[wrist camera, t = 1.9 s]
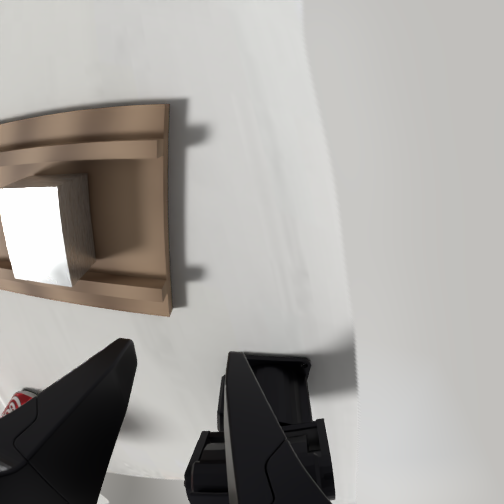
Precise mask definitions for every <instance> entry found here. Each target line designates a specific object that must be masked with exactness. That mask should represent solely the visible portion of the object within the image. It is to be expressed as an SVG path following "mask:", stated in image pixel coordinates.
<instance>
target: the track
mask: <svg viewBox="0 0 504 504" xmlns="http://www.w3.org/2000/svg"><path fill="white" fill-rule="evenodd" d="M169 107H170V104H151V105H132V106H118V107H106V108H96V109H87V110H78V111H71V112H64V113H57V114H50V115H44V116H39V117H33V118H28V119H23V120H18V121H13V122H8V123H4V124H0V188H2V187H4V186H7V185H9V184H11V183H14V182H16V181H18V180H21V179H23V178H26V177H28V176H35V175H54V174H82V173H87V175H88V191H89V204H90V215H91V224H92V233H93V241H94V249H95V256H96V262H95V263H94V264H93V265H92V266H91V267H90V269H89V270H88V271H87V272H86V273H85V274H84V275H83V276H82V277H81V278H80V279H79V280H78V282H77V283H76V284H75V285H74V286H73V287H67V286H60V285H54V284H47V283H41V282H35V281H29V280H23V279H17V278H15V276H14V272H13V268H12V264H11V260H10V256H9V251H8V247H7V242H6V237H5V232H4V227H3V222H2V216H1V210H0V289H1V290H6V291H10V292H15V293H20V294H25V295H30V296H35V297H40V298H45V299H51V300H56V301H62V302H68V303H74V304H80V305H86V306H92V307H99V308H105V309H112V310H119V311H126V312H134V313H142V314H150V315H158V316H167V317H170V314H171V312H172V309H173V308H172V294H171V278H170V259H169V233H168V133H169Z"/></svg>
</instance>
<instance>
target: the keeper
mask: <svg viewBox="0 0 504 504" xmlns="http://www.w3.org/2000/svg"><path fill="white" fill-rule="evenodd" d="M0 210H1V216H2V222H3V227H4V232H5V237H6V242H7V247H8V251H9V256H10V260H11V264H12V268H13V272H14V276H15V278H17V279H23V280H29V281H35V282H41V283H47V284H54V285H60V286H67V287H73V286H74V285H75V284H76V283H77V282H78V280H79V279H80V278H81V277H82V276H83V275H84V274H85V273H86V272H87V271H88V270H89V269H90V267H91V266H92V265H93V264H94V263H95V262H96V256H95V249H94V241H93V233H92V224H91V215H90V204H89V191H88V175H87V173H82V174H54V175H35V176H28V177H26V178H23V179H21V180H18V181H16V182H14V183H11V184H9V185H7V186H4V187H2V188H0Z"/></svg>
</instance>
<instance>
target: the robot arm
mask: <svg viewBox="0 0 504 504" xmlns="http://www.w3.org/2000/svg"><path fill="white" fill-rule="evenodd" d="M303 364H305V365H303ZM136 368H137V357H136V352H135V348H134V343H133V341H132V340H130V339H124V338H119V339H117V340H115V341H114V342H113V343H111V344H110V345H108V346H107V347H105V348H104V349H102V350H101V351H99V352H98V353H97V354H95V355H94V356H92V357H91V358H89V359H88V360H86V361H85V362H84V363H82V364H81V365H79V366H78V367H76V368H75V369H73V370H72V371H71V372H69V373H68V374H66V375H65V376H63V377H62V378H60V379H59V380H58V381H56V382H55V383H53V384H52V385H50V386H49V387H48V388H46V389H45V390H43V391H42V392H40V393H39V394H38V395H37V396H34V397H33V398H32V399H30V400H29V401H27V402H26V403H24V404H23V405H21V406H20V407H18V408H17V409H15V410H13V411H12V412H10V413H8V414H7V415H5V416H3V417H1V418H0V504H97V501H98V497H99V494H100V491H101V487H102V484H103V481H104V477H105V474H106V471H107V468H108V465H109V461H110V458H111V455H112V452H113V449H114V446H115V443H116V440H117V437H118V434H119V431H120V428H121V425H122V422H123V419H124V417H125V414H126V410H127V407H128V403H129V398H130V394H131V389H132V385H133V381H134V376H135V372H136ZM310 368H311V362H310V360H309V359H308V358H287V357H265V356H248V355H244V353H243V352H234V351H230V352H229V353H228V360H227V367H226V374H225V375H224V376H223V377H222V380H221V387H220V395H219V403H218V411H217V428H218V431H219V432H210V431H202V433H201V435H200V438H199V440H198V442H197V445H196V447H195V450H194V452H193V454H192V457H191V459H190V462H189V464H188V467H187V469H186V472H185V475H184V477H185V481H184V486H185V488H186V493H187V496H188V500H189V501H190V504H332V503H331V502H330V500H335V486H334V477H333V469H332V462H331V456H330V450H329V445H328V439H327V434H326V429H325V423H324V418H322V419H317V420H316V421H312V413H311V406H310V399H309V392H308V385H307V379H308V375H309V371H310Z"/></svg>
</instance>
